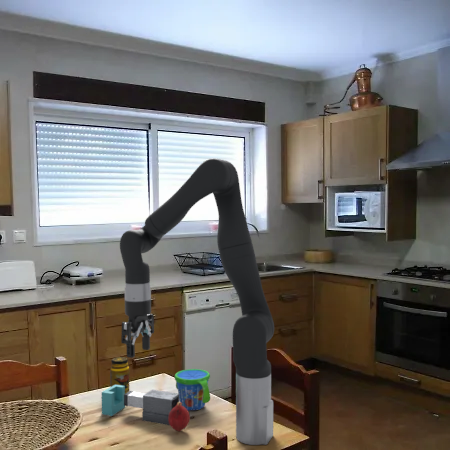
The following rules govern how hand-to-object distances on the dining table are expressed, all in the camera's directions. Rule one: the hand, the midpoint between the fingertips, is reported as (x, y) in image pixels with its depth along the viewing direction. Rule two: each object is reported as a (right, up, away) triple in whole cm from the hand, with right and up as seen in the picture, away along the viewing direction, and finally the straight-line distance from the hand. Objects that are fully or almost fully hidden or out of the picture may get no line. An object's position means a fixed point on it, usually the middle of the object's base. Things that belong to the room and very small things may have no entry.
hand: (138, 353), depth 148 cm
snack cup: (+15, -18, +7) cm, 25 cm away
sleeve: (+7, -19, -2) cm, 20 cm away
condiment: (-10, -18, +17) cm, 27 cm away
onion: (+13, -19, -10) cm, 25 cm away
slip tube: (+3, -16, 0) cm, 16 cm away
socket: (-8, -18, +4) cm, 20 cm away
